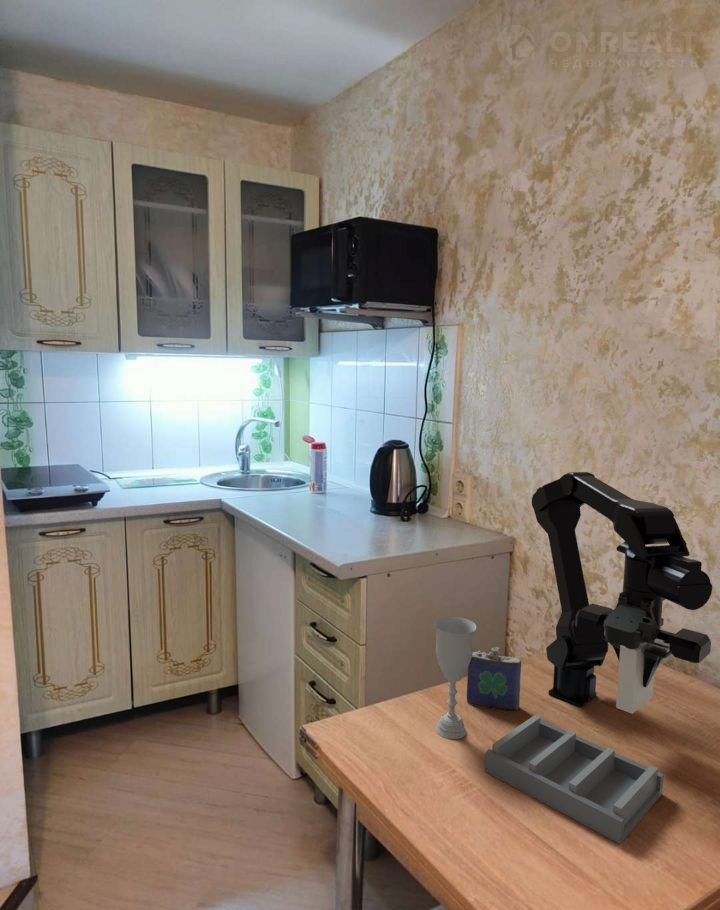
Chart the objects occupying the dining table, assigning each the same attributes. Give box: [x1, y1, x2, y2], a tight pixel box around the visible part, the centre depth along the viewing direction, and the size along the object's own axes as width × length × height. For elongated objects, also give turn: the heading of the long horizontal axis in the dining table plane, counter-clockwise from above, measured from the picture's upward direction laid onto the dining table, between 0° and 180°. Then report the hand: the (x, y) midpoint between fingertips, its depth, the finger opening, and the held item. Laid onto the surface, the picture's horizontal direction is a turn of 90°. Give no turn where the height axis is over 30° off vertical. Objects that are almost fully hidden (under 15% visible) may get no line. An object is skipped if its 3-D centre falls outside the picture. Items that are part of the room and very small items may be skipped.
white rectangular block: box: [615, 642, 655, 715], centre depth 97 cm, size 2×8×10 cm, turn 134°
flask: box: [466, 646, 522, 712], centre depth 110 cm, size 9×3×11 cm, turn 74°
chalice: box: [433, 616, 477, 740], centre depth 101 cm, size 7×7×18 cm
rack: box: [484, 714, 665, 845], centre depth 89 cm, size 20×14×4 cm
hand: (636, 683), depth 98 cm, fingers closed on white rectangular block, 2 cm apart
